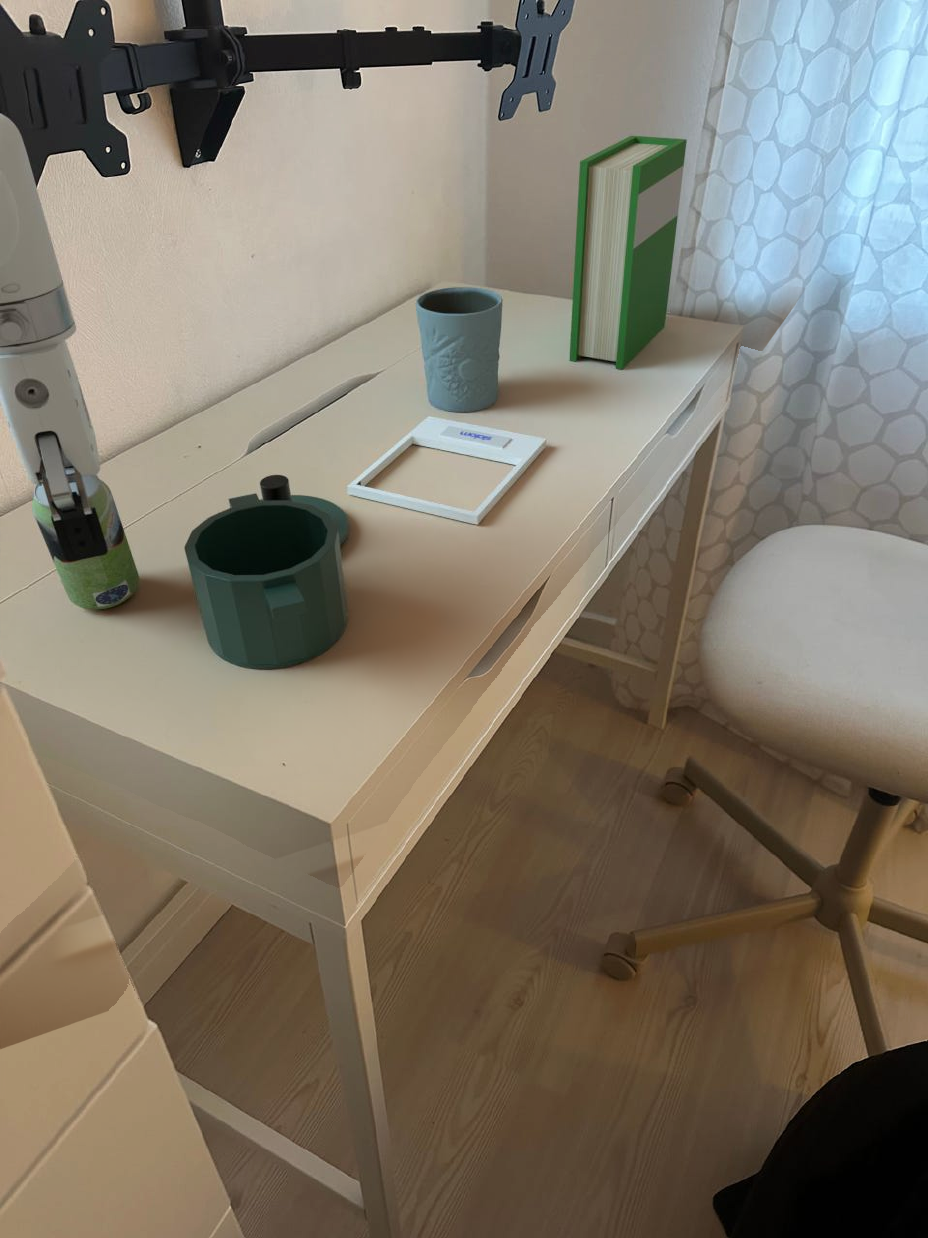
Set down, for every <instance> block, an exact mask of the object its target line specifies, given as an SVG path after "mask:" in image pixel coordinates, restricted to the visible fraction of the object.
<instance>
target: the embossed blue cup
mask: <svg viewBox="0 0 928 1238" xmlns="http://www.w3.org/2000/svg"><path fill="white" fill-rule="evenodd" d="M503 301H504V300H503V297H502V296H501V295H500V294H498V293H497V292H495V291H494V290H491V289H487V288H482V287H472V286H455V287H454V286H453V287H446V288H444V287H443V288H439V289H434V290H430V291H428V292H425V293H423V294H421V295H419V296H418V297H417V298H416V299H415V303H414V304H415V310H416V311H415V312H416V317H417V324H418V328H419V334H420V335H419V336H420V344H421V351H422V358H423V362H424V365H423V367H424V372H425V381H426V392H427V398H428V402H429V403H430V405H431V406H433V407H434V408H436V409H438V410H440V411H444V412H448V413H449V412H450V413H473V412H478V411H482V410H485V409H487V408H490V407H492V406H493V405H494V404H495V403H496V401H497V399H498V394H499V361H500V342H501V335H502V334H501V333H502V322H503V321H502V319H503V315H502V314H503Z"/></svg>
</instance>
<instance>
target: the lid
mask: <svg viewBox="0 0 928 1238" xmlns="http://www.w3.org/2000/svg"><path fill="white" fill-rule="evenodd" d="M259 486H260V492H261V498H260V499H259V500H260V501H282V500H288V501H294V502H299V503H303V504H308V505H312V506H315V507H316V508H318V509H320V510H321V511H323V512H325V513H327V514H328V515H330V516H331V518H332V520H333V522H334V524H335V525H336V527H337V529H338V535H339V543H340V547H341V546H342V544H344V542H345V541H346V539H347V537H348V534H349V531H350V523H349V517H348V516H347V513H346V512H345V511H344V510H343V508H341V507H340V506H339V505H337V504H336V503H334V502H332V501H331V500H328V499H324V498H321V497H317V496H311V495H302V494H292V493H291V487H290V481H289V478H288V477H287V476H286V475H283V474H271V475H268V476H264V477H263V478H262V479H260V482H259Z"/></svg>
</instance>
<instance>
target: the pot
mask: <svg viewBox="0 0 928 1238" xmlns="http://www.w3.org/2000/svg"><path fill="white" fill-rule="evenodd" d="M260 500H261V499H260V498H259V495H258V493H256V492H255V493H250V494H245V495H240V496H236V497H231V498H228V503H229V508H227V509H224V510H222V511H220V512H218V513H216V514H215V513H214V514H213V515H211V516H209V517H207V518H206V519H205V520H204V521H202V522H201V523H200V524H198V525H197V526H196V527H195V528H194V529H193V530H192V531H190V534H189V536H188V538H187V541H186V542H185V545H184V548H183V549H184V553H185V557H186V561H187V566H188V569H189V573H190V576H191V580H192V584H193V589H194V592H195V596H196V600H197V604H198V605H197V606H198V608H199V613H200V616H201V621H202V625H203V629H204V632H205V636H206V640H207V643H208V645H209V647H210V649H211V650H212V652H213V653H214V654H215V655H217V656H218V657H219V658H221V660H223V661H225V662H227V663H229V664H232V665H234V666H237V667H241V668H246V669H251V670H252V669H254V670H276V669H282V668H288V667H292V666H293V667H294V666H296V665H301V664H303V663H306V662H309V661H311V660H313V659H315V658H317V657H319V656H321V655H323V654H324V653H326V652H327V651H328V650H330V649H331V648H332V647H333V646H335V644H336V643H337V642H338V641H339V640H340V638H341V637H342V635H343V634H344V632H345V630H346V628H347V624H348V611H349V610H348V609H349V608H348V607H349V606H348V602H347V601H348V600H347V592H346V591H347V590H346V584H345V576H344V575H345V574H344V568H343V560H342V552H341V546H340V543H339V535H338V529H337V527H336V525H335V524H334V522H333V520H332V518H331V516H330V515H328V514H327V513H325V512H323V511H321V510H320V509H318V508H316V507H315V506H312V505H308V504H303V503H299V502H294V501H288V500H282V501H260Z"/></svg>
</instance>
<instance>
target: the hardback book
mask: <svg viewBox="0 0 928 1238" xmlns="http://www.w3.org/2000/svg"><path fill="white" fill-rule="evenodd" d="M687 142H688V139H687V138H673V137H659V136H658V137H657V136H642V135H630V136H627V137H625V138H624V139H621V140H620V141H617V142H616V143H614V144H612V145H610V146H608V147H606V148H604V149H602V150H600V151H598V152H596V153H594V154H592V155H590V156H587V157H586V158H584V159H582V160H580V161H579V173H578V175H579V176H578V192H577V193H578V194H577V209H576V210H577V211H576V230H575V246H574V247H575V249H574V266H573V284H572V285H573V286H572V287H573V289H572V305H571V322H570V323H571V325H570V342H569V343H570V344H569V361H570V362H577V361H578V360H580V359H581V358H582V357H586V358H587V357H588V358H592V359H597V360H603V361H610V362H615V369H616V370H624V369H625V368H626V367H627V366H628V365H629V364H630V363H631V362H632V360H634V359H635V357H637V355H638V354H639V353H641V351H642V350H644V348H645V347H646V346H647V345H648V344H649V343H650V342H651V341H653V339H654V338H655V337H656V336H657V335H658V334H659V333H660V332H661V331H662V330H663V329H664V328H665V327H666V319H667V312H668V311H667V310H668V302H669V295H670V285H671V279H672V278H671V277H672V268H673V260H674V250H675V243H676V236H677V235H676V234H677V228H678V227H677V226H678V218H679V208H680V200H681V192H682V183H683V174H684V167H685V158H686V151H687V150H686V149H687Z"/></svg>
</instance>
